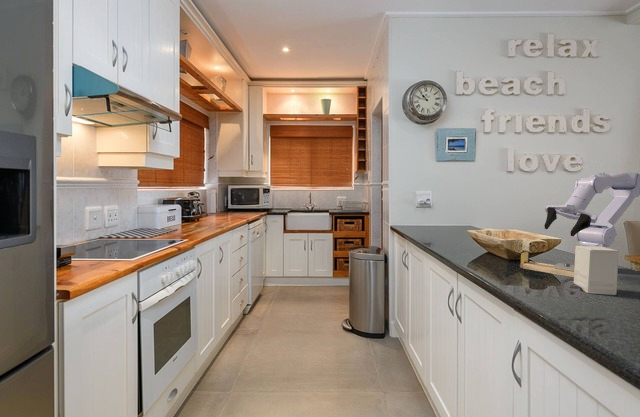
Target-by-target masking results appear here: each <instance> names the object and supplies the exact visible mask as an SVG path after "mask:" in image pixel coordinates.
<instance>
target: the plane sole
mask: <svg viewBox="0 0 640 417" xmlns="http://www.w3.org/2000/svg"><path fill="white" fill-rule="evenodd" d="M554 265H555V264H549V263H544V262H537V261H536V262H535V261H530V260H529V261H528V262H527V263H525V264H523V265H521V263H520V264H519V268H521V269H524V270H531V271H535V272H542V273H548V274H554V275H561V276H566V277H570V278H571V277H572V278H574V271H570V270H564V269H557V268H554Z"/></svg>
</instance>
